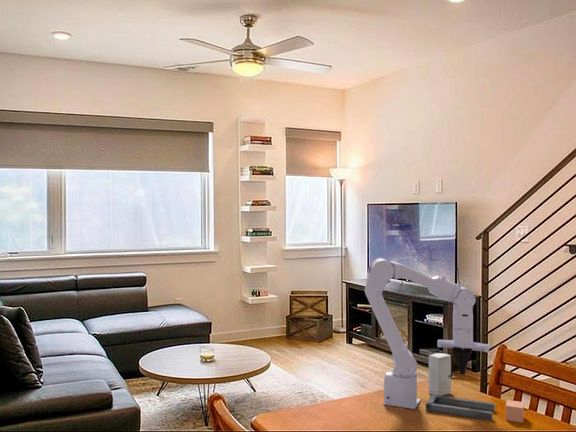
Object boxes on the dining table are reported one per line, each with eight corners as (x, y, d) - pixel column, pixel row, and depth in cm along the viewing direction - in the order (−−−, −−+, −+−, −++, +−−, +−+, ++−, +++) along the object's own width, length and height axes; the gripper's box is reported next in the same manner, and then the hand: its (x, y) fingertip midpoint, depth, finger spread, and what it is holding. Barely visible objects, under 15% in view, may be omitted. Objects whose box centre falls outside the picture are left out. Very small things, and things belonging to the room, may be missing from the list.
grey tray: (425, 410, 157) (425, 404, 157) (431, 401, 166) (431, 394, 166) (492, 421, 150) (492, 413, 150) (494, 410, 158) (494, 403, 158)
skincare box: (438, 396, 169) (438, 358, 169) (427, 392, 173) (427, 354, 173) (451, 393, 173) (452, 355, 173) (440, 389, 176) (440, 352, 176)
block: (505, 420, 150) (505, 405, 150) (506, 413, 155) (506, 399, 155) (523, 422, 148) (523, 408, 148) (523, 416, 153) (523, 402, 153)
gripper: (489, 327, 163) (489, 372, 163) (440, 323, 169) (440, 366, 169) (487, 332, 156) (487, 379, 156) (436, 327, 162) (436, 373, 162)
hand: (462, 373), depth 162 cm, fingers closed
